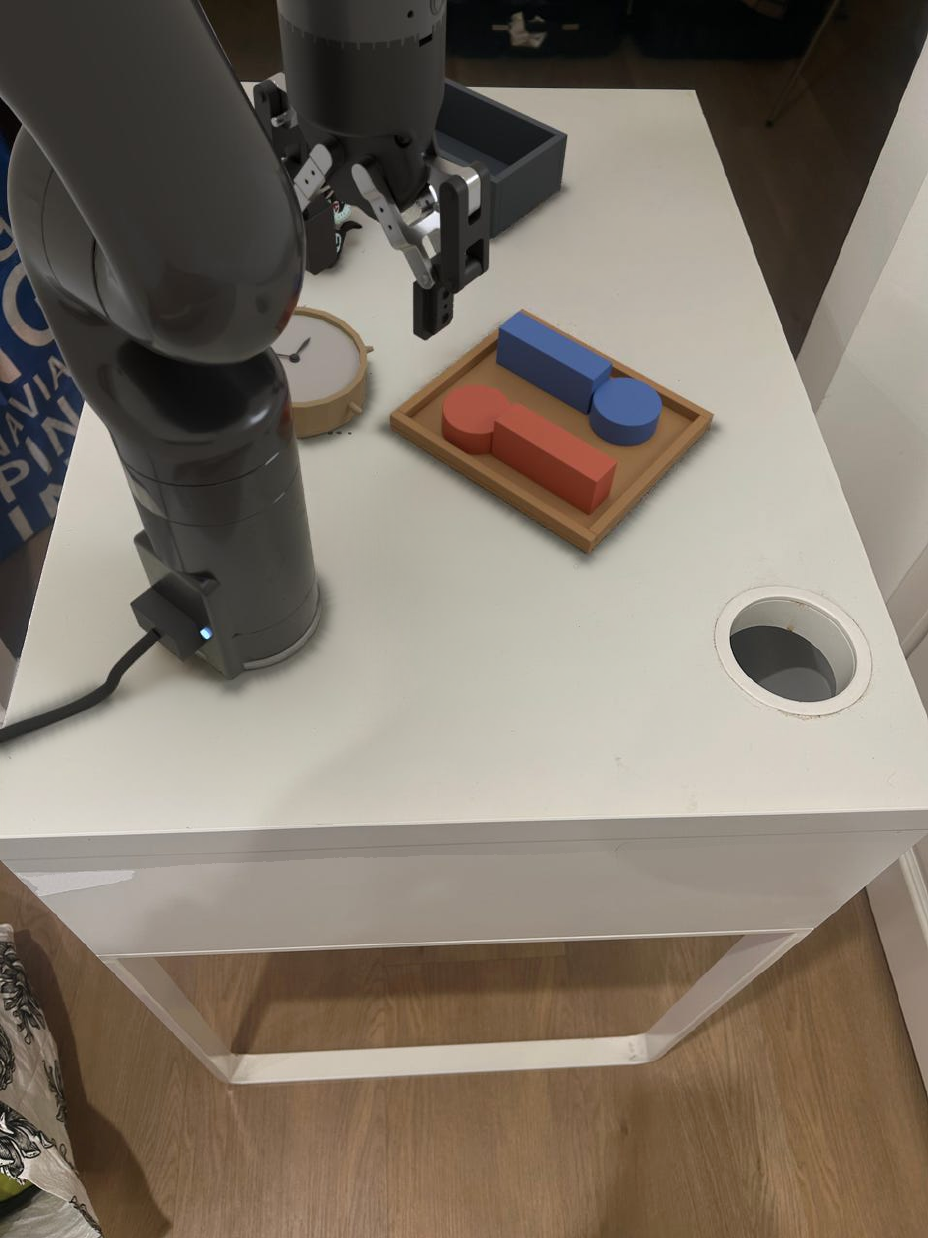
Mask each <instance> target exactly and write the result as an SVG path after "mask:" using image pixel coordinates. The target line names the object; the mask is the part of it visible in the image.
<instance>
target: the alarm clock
mask: <svg viewBox="0 0 928 1238" xmlns="http://www.w3.org/2000/svg"><path fill="white" fill-rule="evenodd" d="M271 347H272V348H273V350H274V351H275V352H276V354H277V355H278V357H279V359H280V361H281V362H282V365H283V367H284V369H285V372H286V375H287V378H288V383H289V388H290V394H291V401H292V408H293V415H294V422H295V429H296V436H297V438H299V437H300V438H307V437H312V436H317V435H321V434H326V433H329V432H331V431H333V430H335V429H337V428H340V427H341V426H343V425H345V424H347V423H348V422H350V420H351V419H352V418H353V417H354V416H355V415H358V416H362V415H363V414H364V410H363V409H362V406H363V403H364V401H365V399H366V396H367V372H368V365H369V363H368V354H370V353H372V352H374V351H375V349H374V348H375V347H374V346H373V345H365V343H364V341H363V339H362V337H361V335H360V333H358V332H357V330H355V329H354V328H353V327H352V326H351V325H349V324H348V323H347V322H346V321H345V320H343V319H341V318H340V317H338V316H335V315H333V314H332V313H330V312H327V311H324V310H320V309H316V308H312V307H307V306H301V305H299V306H298V305H297V306H296V309H295V311H294V313H293V315H292V317H291V319H290V321H289V323H288V325H287V327H286V328H285V330H284V331H283V333H282V334H281V335H280V336H279V337H278V339H277V340H276V341H275V342H274V343H273V344H272V345H271Z"/></svg>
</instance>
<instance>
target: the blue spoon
mask: <svg viewBox="0 0 928 1238" xmlns="http://www.w3.org/2000/svg"><path fill="white" fill-rule="evenodd" d="M498 328H499V333H498V344H497V355H496V363H497V364H499V365H501V366H502V367H504V368H506V369H507V370H509V371H511V372H513V373H514V374H516V375H518V376H520V377H521V378H523V379H525V380H526V381H528V382H530V383H532V384H533V385H535V386H537V387H539V388H540V389H542V390H544V391H545V392H547V393H549V394H551V395H552V396H554V397H556V398H557V399H559V400H561V401H563V402H564V403H566V404H568V405H570V406H571V407H573V408H575V409H576V410H578V411H580V412H582V413H583V414H585V415H587V414H588V413H590V415H589V422H590V425H591V428H592V430H593V431H594V432H595V433H596V434H597V435H598V436H599V437H600V438H601V439H603V440H605V441H607V442H609V443H611V444H615V445H619V446H635V445H639V444H642V443H644V442H646V441H647V440H649V439H650V438H651V437H652V436H653V434H654V433H655V430H656V427H657V423H658V420H659V416H660V412H661V408H662V402H661V399H660V396H659V395H658V393H657V392H656V391H655V390H654V389H653V388H652V387H651V386H650V385H648V384H646V383H644V382H642V381H640V380H636V379H632V378H614V379H610V380H609V378H610V373H611V369H612V364H613V363H612V362H610V361H608V360H607V359H605V358H603V357H601V356H599V355H598V354H596V353H594V352H592V351H590V350H589V349H587V348H585V347H583V346H581V345H579V344H578V343H576V342H574V341H572V340H570V339H569V338H567V337H565V336H563V335H561V334H560V333H558V332H556V331H554V330H552V329H550V328H549V327H547V326H545V325H543V324H541V323H540V322H538V321H536V320H534V319H532V318H531V317H529V316H527V315H525V314H523V313H522V312H520V310H519V311H517V312H516V313H515V314H514V315H512V316H511V317H510V318H508V319H507V320H506V321H504V322H503V323H502V324H501V325H500V326H498Z"/></svg>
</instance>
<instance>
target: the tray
mask: <svg viewBox="0 0 928 1238" xmlns="http://www.w3.org/2000/svg"><path fill="white" fill-rule="evenodd" d="M519 311H520V312H522V313H523V314H525V315H527V316H529V317H531V318H532V319H534V320H536V321H538V322H540V323H541V324H543V325H545V326H547V327H549V328H550V329H552V330H554V331H556V332H558V333H560V334H561V335H563V336H565V337H567V338H569V339H570V340H572V341H574V342H576V343H578V344H579V345H581V346H583V347H585V348H587V349H589V350H590V351H592V352H594V353H596V354H598V355H599V356H601V357H603V358H605V359H607V360H608V361H610V362H612V363H613V364H612V369H611V373H610V378H609V380H610V379H614V378H632V379H636V380H640V381H642V382H644V383H646V384H648V385H650V386H651V387H652V388H653V389H654V390H655V391H656V392H657V393H658V395H659V396H660V399H661V402H662V408H661V412H660V416H659V420H658V423H657V427H656V430H655V433H654V434H653V436H652V437H651V438H650V439H649V440H647V441H646V442H644V443H642V444H639V445H635V446H619V445H615V444H611V443H609V442H607V441H605V440H603V439H601V438H600V437H599V436H598V435H597V434H596V433H595V432H594V431H593V430H592V428H591V425H590V422H589V415H590V413H588V414H587V415H585V414H583V413H582V412H580V411H578V410H576V409H575V408H573V407H571V406H570V405H568V404H566V403H564V402H563V401H561V400H559V399H557V398H556V397H554V396H552V395H551V394H549V393H547V392H545V391H544V390H542V389H540V388H539V387H537V386H535V385H533V384H532V383H530V382H528V381H526V380H525V379H523V378H521V377H520V376H518V375H516V374H514V373H513V372H511V371H509V370H507V369H506V368H504V367H502V366H501V365H499V364H497V363H496V355H497V344H498V333H499V327H497V328H496V329H495V330H494V331H492V332H491V333H490V334H488V336H486V337H485V338H484V339H483V340H482V341H480V342H479V343H477V344H476V345H475V346H474V347H472V348H471V349H470V350H469V351H467V352H466V353H465V354H464V355H462V356H461V357H460V358H459V359H458V360H456V361H454V363H452V364H451V365H450V366H448V367H447V368H446V369H445V370H444V371H442V372H441V373H440V374H439V375H438V376H436V377H435V378H434V379H432V380H431V381H430V382H429V383H428V384H426V385H425V386H424V387H422V388H421V389H420V390H418V391H417V392H416V393H415V394H413V395H412V396H411V397H410V398H409V399H407V400H406V401H405V402H403V404H401V405H400V406H398V407H397V408H396V409H394V410H393V411H392V412H391V413H390V414H389V428H390V429H391V430H392V431H394V432H396V433H397V434H399V435H401V436H402V437H404V438H405V439H407V440H408V441H409V442H411V443H413V444H414V445H416V446H418V447H419V448H421V449H422V450H424V451H425V452H427V453H428V454H429V455H430V454H431V455H432V456H433V457H435V458H436V459H439V460H440V461H441V462H443V463H444V464H446V465H448V467H451V468H452V469H453V470H456V471H457V472H458V473H460V474H462V475H464V476H465V477H467V478H468V479H470V480H471V481H473V482H474V483H476V484H478V485H479V486H481V487H483V489H485V490H487V491H489V492H490V493H491V494H493V495H494V496H496V497H498V498H499V499H501V500H503V501H504V502H506V503H507V504H509V505H510V506H512V507H513V508H515V509H517V510H518V511H520V513H521V512H522V513H523V514H524V515H526V516H527V517H529V518H531V519H533V520H534V521H536V522H537V523H539V524H540V525H541V526H543V527H545V528H547V529H548V530H549V531H551V532H553V533H554V534H556V535H558V536H559V537H560V538H562V539H564V540H565V541H567V542H569V543H570V544H572V545H573V546H575V547H576V548H578V549H579V550H581V551H582V552H584V553H586V554H590V552H592V550H593V549H594V548H596V546H597V545H598V544H599V543H600V542H602V540H603V539H604V538H605V537H606V536H607V535H608V534H609V533H610V532H611V531H612V530H613V528H615V527H616V526H617V525H618V524H619V522H621V520H623V518H624V517H625V516H627V514H628V513H629V512H630V511H632V509H633V508H634V507H635V506H636V505H637V503H638V502H640V501H641V500H642V498H643V497H644V496H645V495H646V494H647V493H648V492H649V491H650V490H651V489H652V488H653V487H654V486H655V485H656V484H657V483H658V482H659V480H661V479H662V478H663V476H665V474H667V473H668V471H670V469H671V468H672V467H673V466H674V465H675V464H676V463H677V462H678V461H679V460H680V459H681V458H682V457H683V456H684V455H685V454H686V452H688V451H689V450H690V448H692V446H693V445H695V443H696V442H697V441H698V440H699V439H700V438H701V437H702V436H703V435H704V434H705V433H706V432H707V431H708V430H709V429H710V428H711V425H712V422H713V420H714V417H715V414H714V413H712V412H711V411H709V410H707V409H705V408H704V407H702V406H700V405H698V404H696V403H695V402H693V401H691V400H689V399H687V398H686V397H684V396H683V395H680V394H678V393H676V392H674V391H673V390H671V389H669V388H667V387H665V386H664V385H662V384H660V383H658V382H656V381H655V380H653V379H651V378H649V377H648V376H645V375H643V374H642V373H640V372H638V371H636V370H635V369H634V368H631V367H629V366H628V365H626V364H623V363H622V362H620V361H618V360H616V359H614V358H613V357H611V356H609V355H607V354H606V353H604V352H602V351H600V350H598V349H597V348H595V347H593V346H591V345H590V344H587V343H586V342H584V341H582V340H580V339H578V338H577V337H575V336H573V335H571V334H569V333H567V332H566V331H563V330H562V329H560V328H559V327H556V326H554V325H553V324H551V323H549V322H547V320H544V319H542V318H540V317H538V316H536V315H535V314H533V313H531V312H529V311H527V310H526V309H524V308H521V309H520V310H519ZM467 385H484V386H488V387H492V388H494V389H496V390H498V391H500V392H501V393H502V394H504V395H505V396H506V397H507V399H508V400H509V402H510V404H511V405H513V404H514V403H515V402H518V403H520V404H521V405H523V406H525V407H526V408H528V409H530V410H531V411H533V412H535V413H537V414H538V415H540V416H542V417H543V418H545V419H547V420H548V421H550V422H552V423H553V424H555V425H557V426H558V427H560V428H562V429H564V430H565V431H567V432H569V433H570V434H572V435H574V436H575V437H577V438H579V439H580V440H582V441H584V442H586V443H587V444H589V445H591V446H592V447H594V448H596V449H597V450H599V451H601V452H602V453H604V454H606V455H608V456H609V457H611V458H613V459H614V460H616V461H617V466H616V470H615V474H614V478H613V482H612V486H611V490H610V494H609V496H608V497H607V498H606V499H605V500H604V501H603V502H602V503H601V504H600V505H599V506H598V507H597V508H596V509H595V510H594V511H593V512H592V513H591V514H590V515H587V514H586V513H584V512H582V511H581V510H579V509H578V508H576V507H574V506H573V505H571V504H569V503H568V502H566V501H565V500H563V499H561V498H560V497H558V496H557V495H555V494H553V493H552V492H550V491H549V490H547V489H545V488H544V487H542V486H540V485H539V484H537V483H536V482H534V481H532V480H531V479H529V478H528V477H526V476H524V475H523V474H521V473H520V472H518V471H516V470H515V469H513V468H511V467H510V466H508V465H507V464H505V463H503V462H502V461H500V460H499V459H497V458H495V457H494V456H492V455H491V452H490V453H486V454H469V453H465V452H463V451H462V450H460V449H459V448H457V447H455V446H454V445H452V444H451V443H449V442H447V441H446V440H445V438H444V436H443V434H442V406H443V402H444V400H445V398H446V397H447V396H448V395H449V394H450V393H451V392H452V391H454V390H455V389H457V388H460V387H463V386H467Z"/></svg>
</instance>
